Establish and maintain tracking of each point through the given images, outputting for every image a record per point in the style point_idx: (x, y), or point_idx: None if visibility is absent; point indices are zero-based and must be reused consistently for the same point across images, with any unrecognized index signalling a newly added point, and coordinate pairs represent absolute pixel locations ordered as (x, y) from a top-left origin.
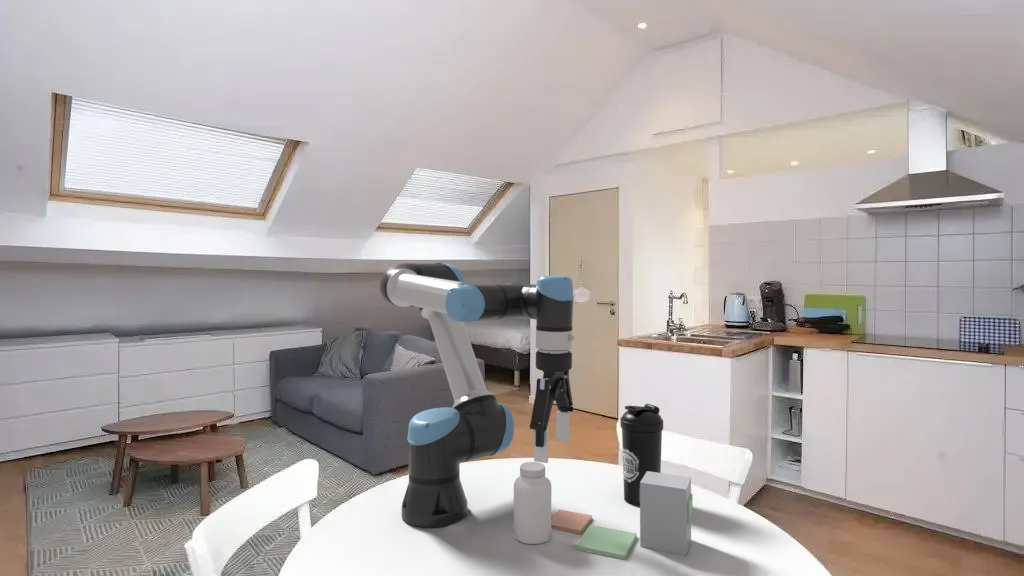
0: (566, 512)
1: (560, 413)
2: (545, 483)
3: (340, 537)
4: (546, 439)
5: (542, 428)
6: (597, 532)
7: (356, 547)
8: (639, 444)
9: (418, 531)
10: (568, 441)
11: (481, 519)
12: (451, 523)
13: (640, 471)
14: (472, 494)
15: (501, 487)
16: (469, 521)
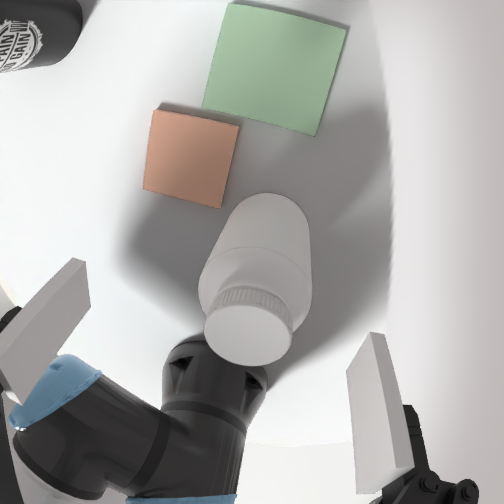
0: (153, 169)
1: (16, 387)
2: (277, 271)
3: (303, 432)
4: (404, 426)
5: (471, 487)
6: (241, 88)
7: (327, 419)
8: None
9: (278, 383)
10: (74, 259)
11: None
12: None
13: (27, 16)
14: (131, 337)
15: None
16: None
